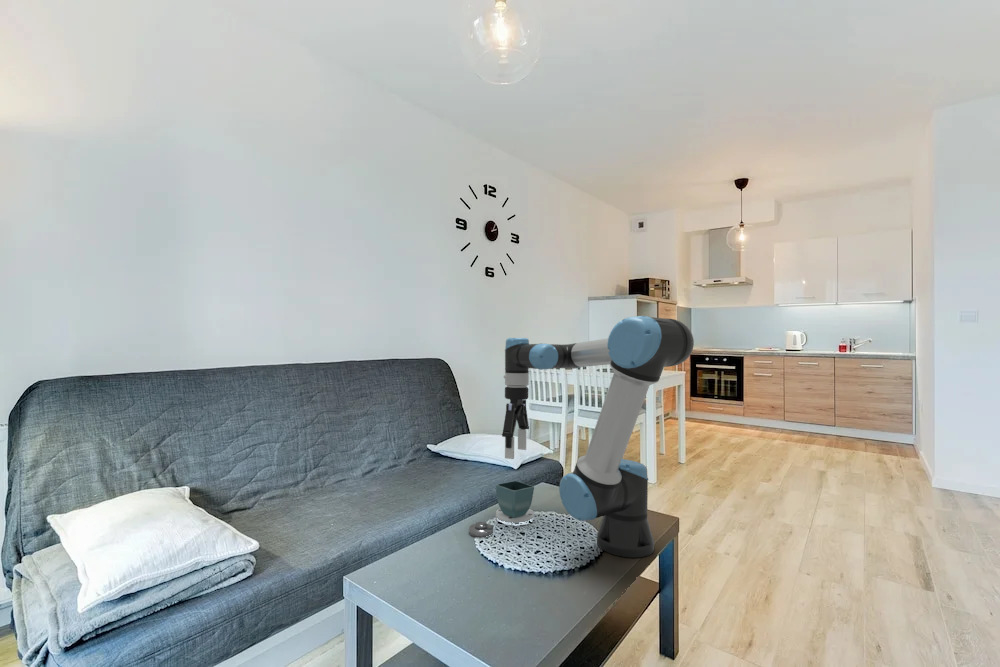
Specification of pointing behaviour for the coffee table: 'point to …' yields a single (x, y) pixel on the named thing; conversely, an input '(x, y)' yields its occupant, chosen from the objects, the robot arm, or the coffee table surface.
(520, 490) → the flower pot
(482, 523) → the small metal flange
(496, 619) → the coffee table surface
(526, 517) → the grey flange
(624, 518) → the robot arm
